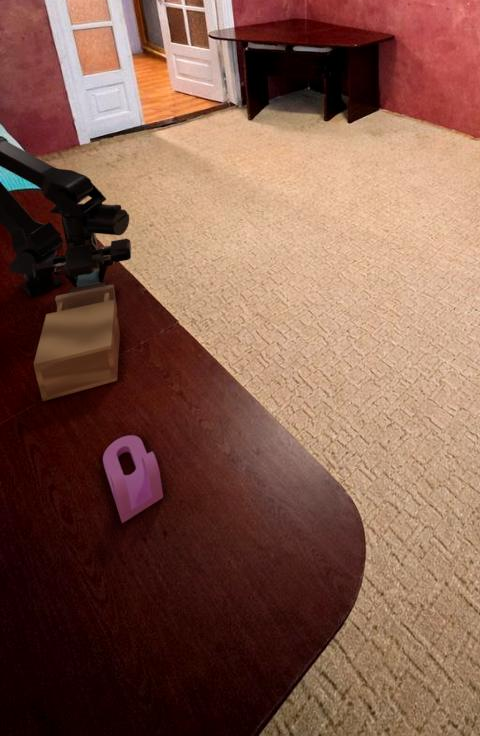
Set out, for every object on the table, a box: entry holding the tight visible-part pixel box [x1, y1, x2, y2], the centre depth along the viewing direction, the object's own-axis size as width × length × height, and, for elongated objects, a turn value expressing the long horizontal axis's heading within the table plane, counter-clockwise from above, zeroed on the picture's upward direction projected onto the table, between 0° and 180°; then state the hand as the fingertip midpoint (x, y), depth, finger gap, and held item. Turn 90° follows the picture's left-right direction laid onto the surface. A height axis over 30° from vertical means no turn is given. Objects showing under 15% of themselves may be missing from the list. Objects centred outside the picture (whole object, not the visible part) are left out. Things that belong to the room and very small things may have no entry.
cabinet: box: [33, 300, 121, 402], centre depth 93 cm, size 14×12×9 cm
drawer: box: [54, 281, 118, 313], centre depth 101 cm, size 17×10×7 cm, turn 27°
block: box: [77, 268, 100, 287], centre depth 113 cm, size 4×4×4 cm
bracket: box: [102, 434, 164, 524], centre depth 74 cm, size 13×6×7 cm, turn 42°
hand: (90, 287), depth 114 cm, fingers closed on block, 4 cm apart
